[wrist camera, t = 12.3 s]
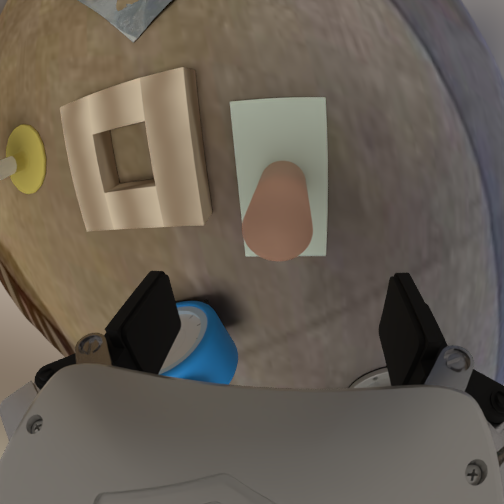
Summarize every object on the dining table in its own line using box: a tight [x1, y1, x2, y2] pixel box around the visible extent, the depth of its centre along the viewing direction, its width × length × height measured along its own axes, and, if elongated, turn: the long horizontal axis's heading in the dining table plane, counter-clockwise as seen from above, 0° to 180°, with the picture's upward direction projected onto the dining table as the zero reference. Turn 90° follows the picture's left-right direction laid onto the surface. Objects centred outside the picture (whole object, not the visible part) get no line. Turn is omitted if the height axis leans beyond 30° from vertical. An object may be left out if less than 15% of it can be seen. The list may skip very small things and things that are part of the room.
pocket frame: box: [60, 67, 213, 231], centre depth 24 cm, size 14×14×3 cm
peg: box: [242, 161, 313, 261], centre depth 20 cm, size 4×4×10 cm
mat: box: [230, 97, 328, 256], centre depth 25 cm, size 8×15×1 cm, turn 5°
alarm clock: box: [158, 299, 238, 384], centre depth 29 cm, size 13×6×15 cm, turn 112°
